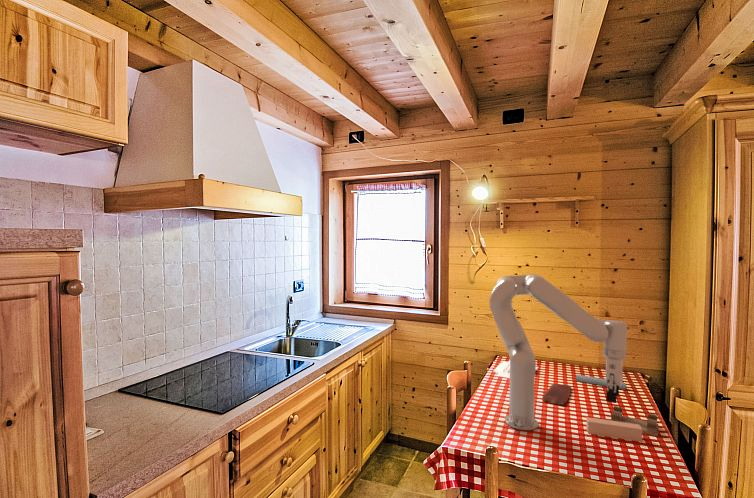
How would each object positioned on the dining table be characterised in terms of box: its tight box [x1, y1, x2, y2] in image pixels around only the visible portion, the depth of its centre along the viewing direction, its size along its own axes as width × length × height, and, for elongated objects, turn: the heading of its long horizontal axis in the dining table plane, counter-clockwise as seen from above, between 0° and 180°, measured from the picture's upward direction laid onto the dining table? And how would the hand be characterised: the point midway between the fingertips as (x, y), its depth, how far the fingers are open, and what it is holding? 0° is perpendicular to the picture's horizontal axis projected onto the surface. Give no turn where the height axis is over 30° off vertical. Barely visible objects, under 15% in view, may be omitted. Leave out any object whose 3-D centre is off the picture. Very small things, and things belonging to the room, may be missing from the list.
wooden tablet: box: [542, 383, 572, 406], centre depth 190 cm, size 27×10×2 cm, turn 145°
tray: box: [493, 360, 539, 379], centre depth 224 cm, size 20×28×4 cm
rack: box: [609, 405, 659, 437], centre depth 159 cm, size 10×16×4 cm, turn 53°
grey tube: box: [575, 374, 627, 390], centre depth 203 cm, size 23×7×3 cm, turn 57°
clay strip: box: [585, 416, 643, 443], centre depth 152 cm, size 4×18×5 cm, turn 70°
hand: (612, 398), depth 151 cm, fingers open, 7 cm apart
